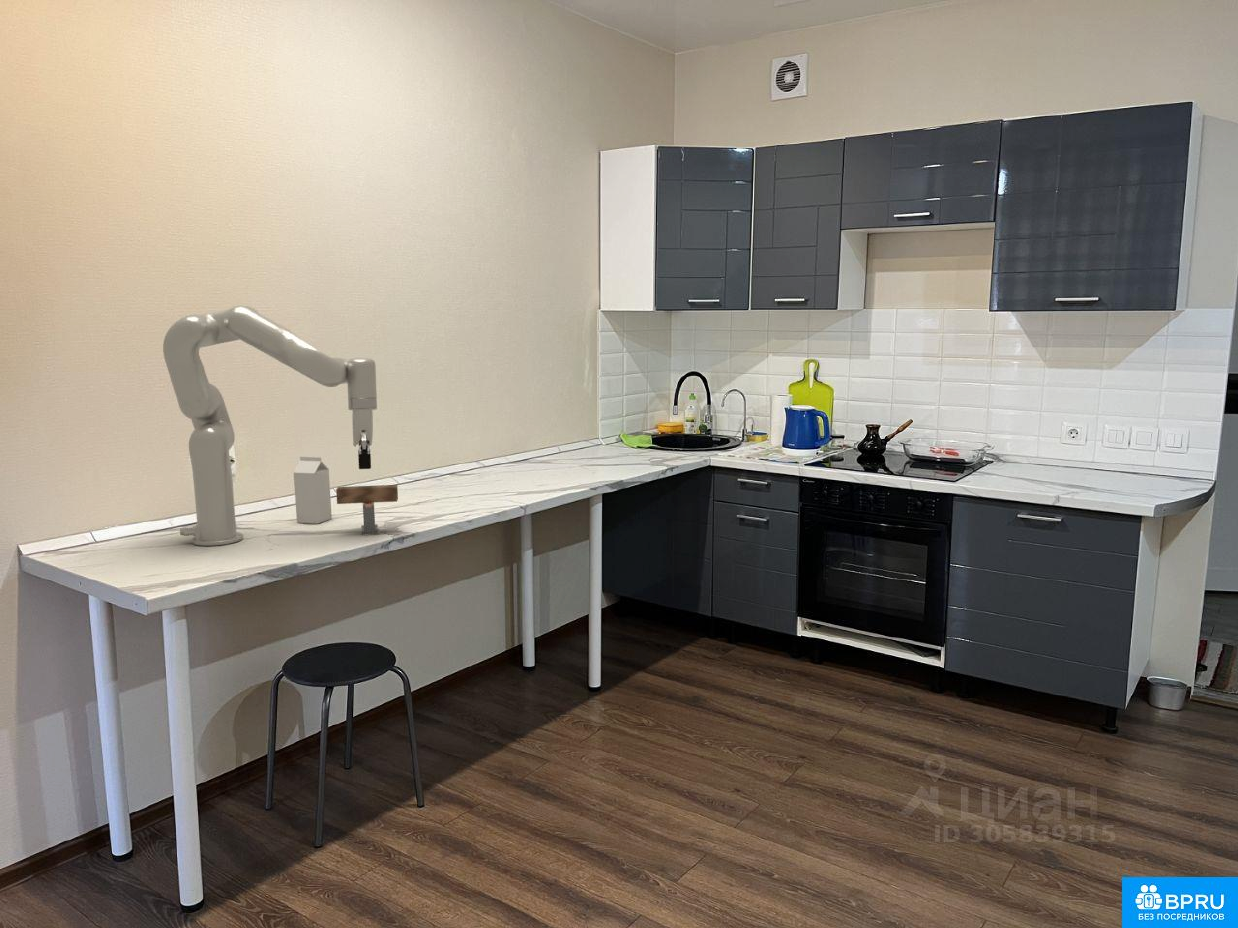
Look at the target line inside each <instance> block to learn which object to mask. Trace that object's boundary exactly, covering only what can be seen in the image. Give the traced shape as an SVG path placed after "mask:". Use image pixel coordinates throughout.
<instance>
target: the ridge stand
mask: <svg viewBox="0 0 1238 928" xmlns="http://www.w3.org/2000/svg"><path fill="white" fill-rule="evenodd" d="M362 513H363V514H362V517H363V525H361V536H364V535H363V534H369V535H378V534H379V525H378V524H377V523H376V519H375V518H376V517H375V516H376V515H375V514H376V513H375V502H373V503H362Z"/></svg>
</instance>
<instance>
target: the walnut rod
mask: <svg viewBox="0 0 1238 928" xmlns="http://www.w3.org/2000/svg"><path fill="white" fill-rule="evenodd" d="M335 491H336V494H335V495H336V504H337V505H343V504H344V505H345V504H348V505H349V504H363V503H373V502H374V503H391V502H392V503H393V502H395V503H396V502H398V501H399V500H398V499H399V491H398V484H384V485H378V484H377V485H359V486H357V485H355V486H352V485H351V486H337V488H336V490H335Z"/></svg>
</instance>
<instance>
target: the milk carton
mask: <svg viewBox="0 0 1238 928" xmlns="http://www.w3.org/2000/svg"><path fill="white" fill-rule="evenodd" d="M293 483H294V501H295V514H296V515H295V516H296V523H300V524H313V525H314V524H322V523H323V522H327V521H329V520H332V518H333V517H332V516H333V515H332V501H331V485H330V469H329V468H328V467H327V465H325V464H324V463H323V461H322V457H319V456H318V457H315V456H313V457H312V456H299V462H298V463H297V465H296V467H295V469H294V470H293Z"/></svg>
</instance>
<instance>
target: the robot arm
mask: <svg viewBox="0 0 1238 928" xmlns="http://www.w3.org/2000/svg"><path fill="white" fill-rule="evenodd" d="M239 340H240V341H242V342H243V343H245V344H248V345H249V346H251V347H253V348H254V349H257V350H258V351H261V352H263V353H264V354H265V355H267V356H268V357H271V358H272V359H275V360H277V361H278V362H280V363H281V364H283V365H285V366H288V367H289V368H291V369H292V370H294V371H296V372H298V373H300V374H301V375H302V376H305V377H306V378H308V379H310V380H312V381H314V382H316V383H318V384H320V385H321V386H324V387H326V388H336V387H337V386H339V385H342V384H343V385H344V384H347V402H348V404H347V405H348V406H347V407H348V410H349V411H352V415H351V419H352V421H351V422H352V440H353V441H352V442H353V443H352V445H353V446H354V447H357V446H358V455H357V456H358V457H357V458H358V469H359V470H371V468H372V462H371V461H372V458H371V457H372V456H371V455H372V454H371V449H370V447H371V446H372V444H373V437H374V435H373V434H374V433H373V432H374V429H373V428H374V421H373V419H374V417H373V415H374V414H373V410H374V411H375V410H378V403H377V402H378V401H377V399H378V398H377V370H376V369H377V368H376V362H375V360H374V359H372V358H367V357H366V358H365V357H364V358H362V357H361V358H359V357H357V358H343V357H342V358H341V357H340V358H339V357H331V356H329V355H328V354H326V353H324V352H322V351H319V350H318V349H316V348H315V347H313V346H311V345H310V344H308V343H307V342H305V341H304V340H302V339H301V338H300V337H299V336H298V335H297V334H296V333H295V332H294V331H292V330H290V329H289V328H287V327H285V326H283V325H282V324H279V323H277V322H275V321H274V320H272V319H270V318H268V317H266V315H263V314H261V313H259V311H257V309H255V308H254V307H251V306H248V305H241V304H240V305H235V306H233V307H230V309H229V308H228V309H225V310H219V311H214V312H208V313H203V314H189V315H186V316H183V317H181V318H179V319H178V320H176V321H175V322H174V323H173V324H172V325H171V326H170V327H169V329H168V330H167V331H166V334H165V336H164V339H163V344H162V352H163V353H162V354H163V357H164V361H165V362H164V363H165V365H166V368H167V371H168V374H169V378H170V382H171V385H172V387H173V390H174V393H175V397H176V400H177V403H178V408H179V410H180V412H181V413H182V414H183V416H185V417H186V418H188V419H189V420H191V423H192V426H193V428H194V430H193V431H192V433H191V434H190V436H189V440H188V452H189V456H190V463H191V469H192V478H193V489H194V500H195V501H194V502H195V511H196V512H195V513H196V514H195V515H196V525H194V526H192V527H181V528H179V534H180V536H184V537H187V536H188V537H189V536H193V537H192V539H191V543H192V544H193V545H195V546H201V547H203V546H204V547H205V546H206V547H209V546H210V547H211V546H221V545H222V546H223V545H229V544H233V543H236V542H239V541H242V540H243V539H244V534H243V533H241V532H240V531H237V523H236V509H235V497H234V496H235V495H234V483H233V472H232V464H231V458H230V457H231V456H230V450H231V448H232V447H233V445H234V443H235V438H236V436H235V432H234V427H233V424H232V421H231V418H230V415H229V413H228V410H227V409H228V408H227V405H226V403H225V400H224V398H223V395H222V393H221V392H220V389H219V388H217V387H216V386H215V385H214V384H212V383H210V382H209V380H208V377H207V373H206V370H205V367H204V363H203V361H202V359H201V357H200V349H201V348H206V347H211V346H215V345H220V344H224V343H230V342H234V341H239Z"/></svg>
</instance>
